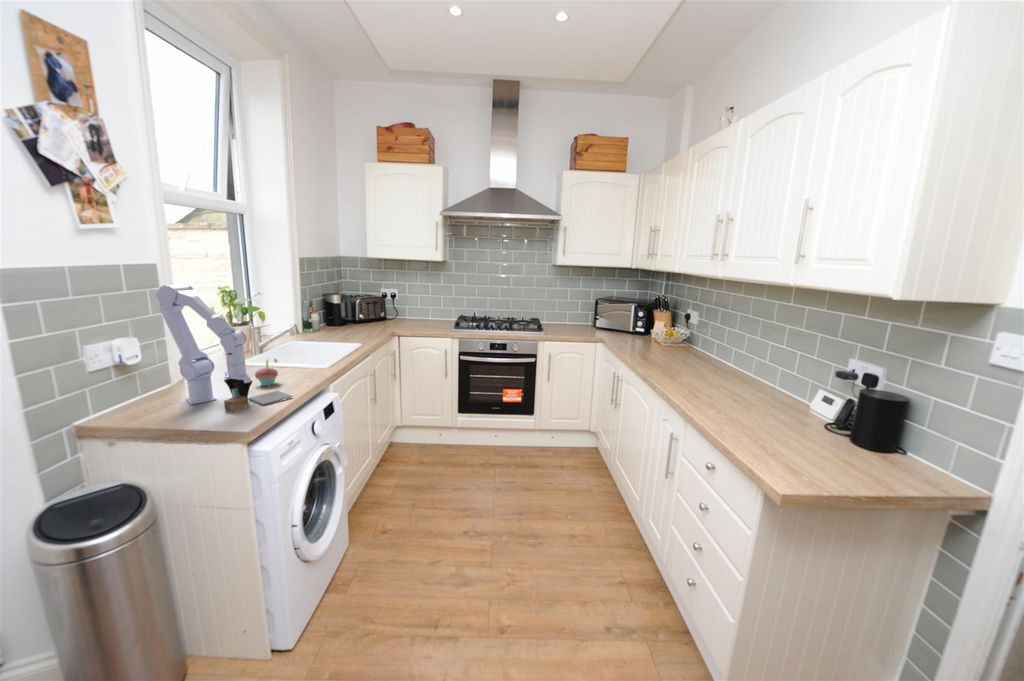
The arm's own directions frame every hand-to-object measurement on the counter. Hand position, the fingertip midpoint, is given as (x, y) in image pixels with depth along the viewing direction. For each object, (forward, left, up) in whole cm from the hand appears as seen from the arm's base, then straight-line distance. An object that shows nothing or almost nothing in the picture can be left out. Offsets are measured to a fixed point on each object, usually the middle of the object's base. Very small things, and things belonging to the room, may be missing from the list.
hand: (240, 397), depth 154 cm
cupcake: (-16, +14, -2) cm, 21 cm away
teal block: (0, 0, -2) cm, 2 cm away
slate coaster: (+5, +9, -1) cm, 10 cm away
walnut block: (+8, -3, -2) cm, 9 cm away
